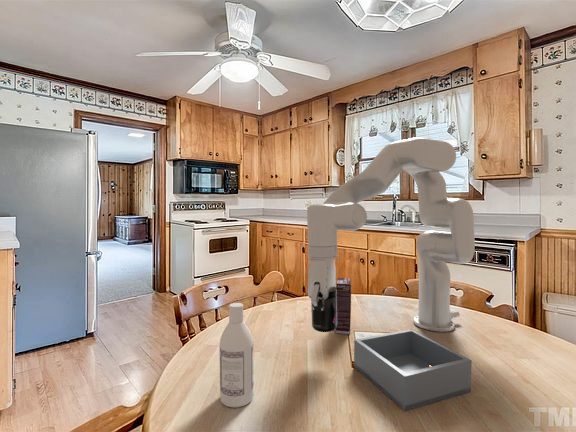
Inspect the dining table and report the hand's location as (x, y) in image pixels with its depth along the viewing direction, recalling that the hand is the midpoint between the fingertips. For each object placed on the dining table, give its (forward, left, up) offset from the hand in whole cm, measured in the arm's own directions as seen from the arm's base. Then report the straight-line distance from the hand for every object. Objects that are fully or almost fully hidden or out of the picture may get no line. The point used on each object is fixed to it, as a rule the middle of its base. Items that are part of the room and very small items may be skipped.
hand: (324, 318), depth 83 cm
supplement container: (0, 0, -3) cm, 3 cm away
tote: (-14, +15, -11) cm, 23 cm away
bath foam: (+25, +8, -11) cm, 28 cm away
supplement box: (-15, -16, -11) cm, 25 cm away
